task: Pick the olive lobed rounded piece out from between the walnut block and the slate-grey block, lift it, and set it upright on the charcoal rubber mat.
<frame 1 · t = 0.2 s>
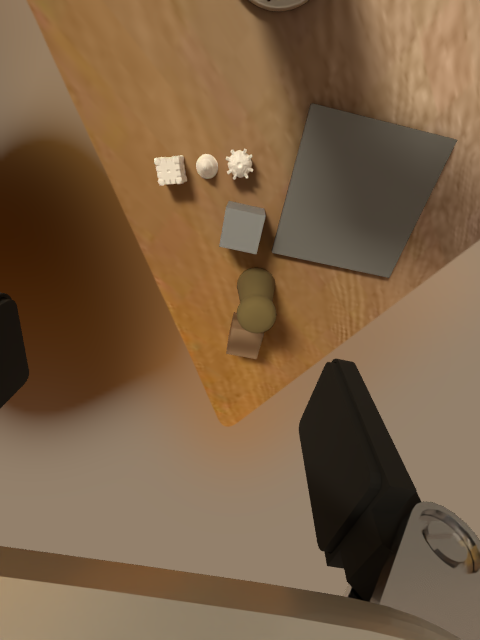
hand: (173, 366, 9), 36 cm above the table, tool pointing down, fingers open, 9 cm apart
game pieces: (207, 166, 39), on the table
olive lobed rounded piece: (256, 285, 47), on the table
slate-grey block: (242, 222, 42), on the table
mat: (353, 200, 40), on the table
walnut block: (245, 327, 51), on the table
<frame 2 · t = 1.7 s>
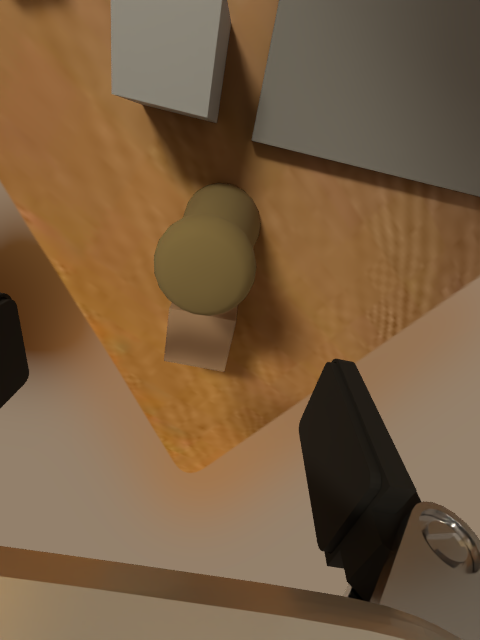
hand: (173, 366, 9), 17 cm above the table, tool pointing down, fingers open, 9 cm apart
olive lobed rounded piece: (222, 224, 23), on the table
slate-grey block: (184, 66, 19), on the table
walnut block: (207, 311, 27), on the table
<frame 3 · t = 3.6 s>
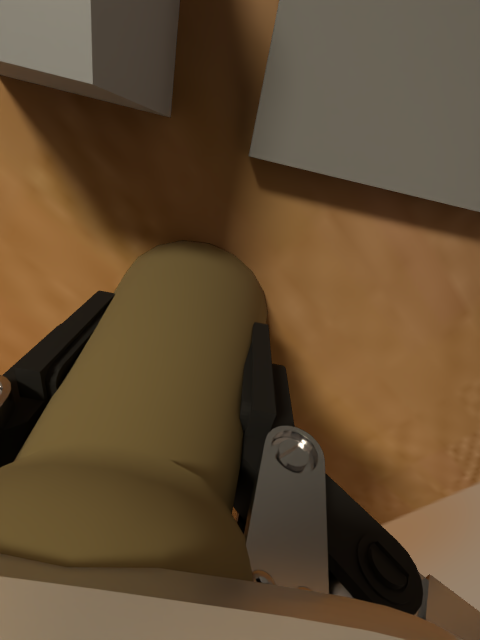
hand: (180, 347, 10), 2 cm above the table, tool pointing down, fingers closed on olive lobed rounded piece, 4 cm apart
olive lobed rounded piece: (194, 312, 12), on the table, touching gripper
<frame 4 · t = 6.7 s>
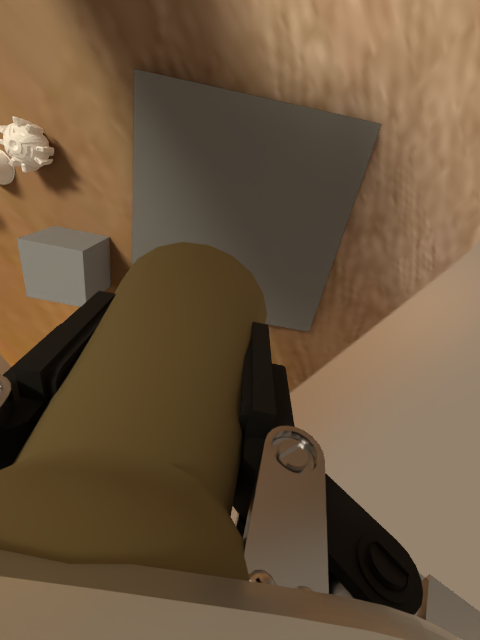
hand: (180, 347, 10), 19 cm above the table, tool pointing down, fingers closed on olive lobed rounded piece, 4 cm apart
game pieces: (1, 166, 25), on the table
olive lobed rounded piece: (193, 313, 12), point 16 cm above the table, touching gripper
slate-grey block: (84, 257, 29), on the table
mat: (238, 222, 26), on the table
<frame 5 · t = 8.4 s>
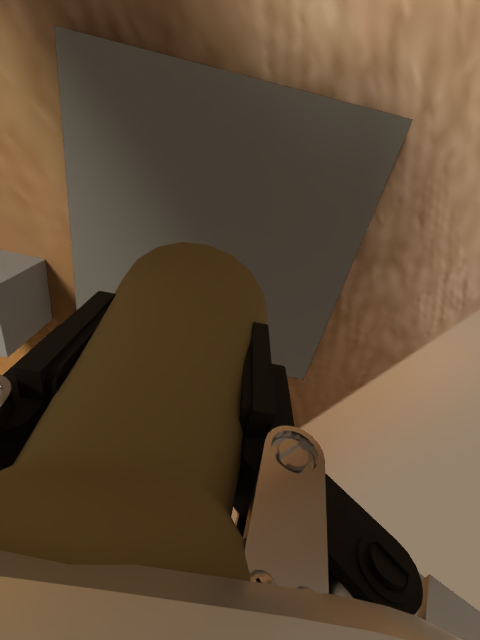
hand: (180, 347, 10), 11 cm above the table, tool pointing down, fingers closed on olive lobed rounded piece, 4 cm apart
olive lobed rounded piece: (193, 313, 12), point 9 cm above the table, touching gripper
slate-grey block: (14, 283, 22), on the table
mat: (214, 245, 20), on the table
when the fingers open (5 cm above the table, at t = 10.0 s): olive lobed rounded piece drops 1 cm, resting on mat.
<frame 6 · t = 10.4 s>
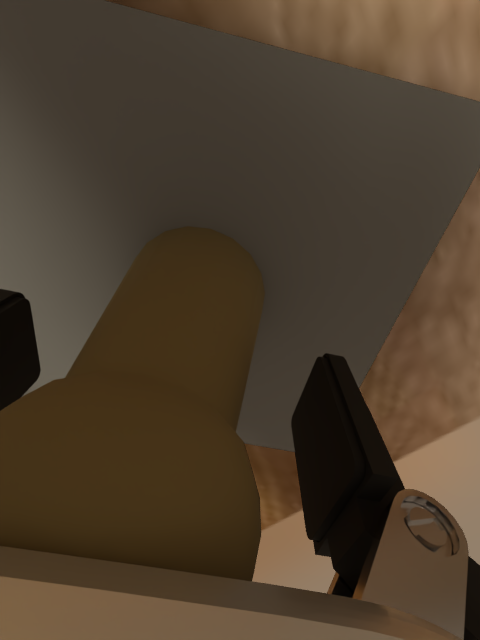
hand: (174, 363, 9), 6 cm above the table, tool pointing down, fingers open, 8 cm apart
olive lobed rounded piece: (197, 293, 13), point 1 cm above the table, touching mat
mat: (201, 290, 14), on the table
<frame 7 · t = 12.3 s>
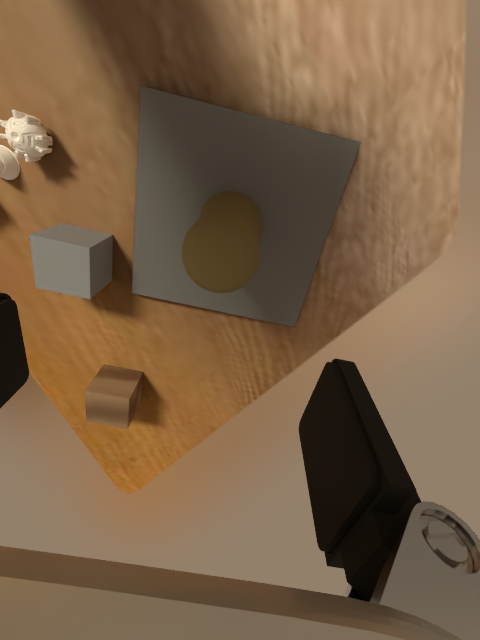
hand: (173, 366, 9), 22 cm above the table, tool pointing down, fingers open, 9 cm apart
game pieces: (7, 162, 27), on the table
olive lobed rounded piece: (230, 225, 28), point 1 cm above the table, touching mat
slate-grey block: (88, 252, 31), on the table
mat: (231, 225, 29), on the table
walnut block: (123, 382, 39), on the table
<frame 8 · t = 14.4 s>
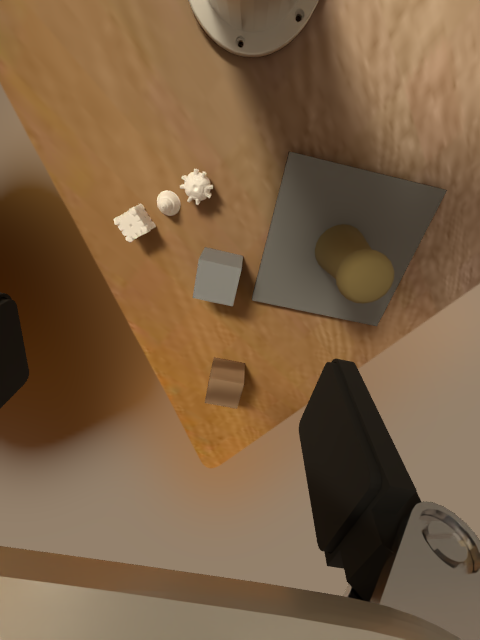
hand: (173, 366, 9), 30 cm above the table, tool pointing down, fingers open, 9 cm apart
game pieces: (169, 202, 36), on the table
olive lobed rounded piece: (339, 248, 37), point 1 cm above the table, touching mat
slate-grey block: (220, 269, 40), on the table
mat: (337, 248, 37), on the table
walnut block: (226, 371, 48), on the table
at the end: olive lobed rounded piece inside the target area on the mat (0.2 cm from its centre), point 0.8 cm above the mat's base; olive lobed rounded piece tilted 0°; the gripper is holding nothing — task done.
